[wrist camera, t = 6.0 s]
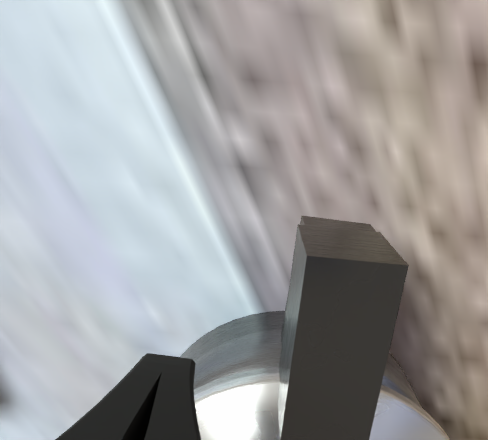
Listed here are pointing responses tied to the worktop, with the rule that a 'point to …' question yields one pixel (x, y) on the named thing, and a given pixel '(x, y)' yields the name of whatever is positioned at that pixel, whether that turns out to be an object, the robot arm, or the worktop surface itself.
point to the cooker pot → (267, 339)
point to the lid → (325, 353)
